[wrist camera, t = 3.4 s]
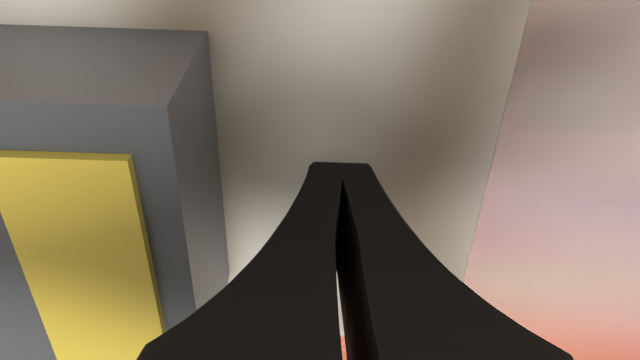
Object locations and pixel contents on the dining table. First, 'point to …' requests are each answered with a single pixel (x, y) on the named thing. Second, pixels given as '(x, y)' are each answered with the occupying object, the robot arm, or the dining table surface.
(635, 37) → the dining table surface
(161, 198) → the block
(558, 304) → the dining table surface
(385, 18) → the subfloor plank
